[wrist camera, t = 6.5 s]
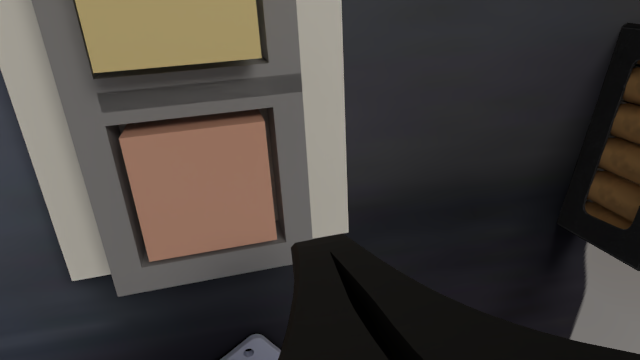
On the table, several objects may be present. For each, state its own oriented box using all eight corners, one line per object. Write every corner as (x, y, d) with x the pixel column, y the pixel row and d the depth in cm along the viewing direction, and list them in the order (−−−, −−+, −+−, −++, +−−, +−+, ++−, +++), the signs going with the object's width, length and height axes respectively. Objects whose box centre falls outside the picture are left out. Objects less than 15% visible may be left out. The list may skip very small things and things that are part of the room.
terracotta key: (270, 217, 18) (277, 239, 16) (154, 235, 17) (149, 262, 15) (257, 108, 16) (264, 121, 14) (127, 122, 15) (118, 138, 13)
